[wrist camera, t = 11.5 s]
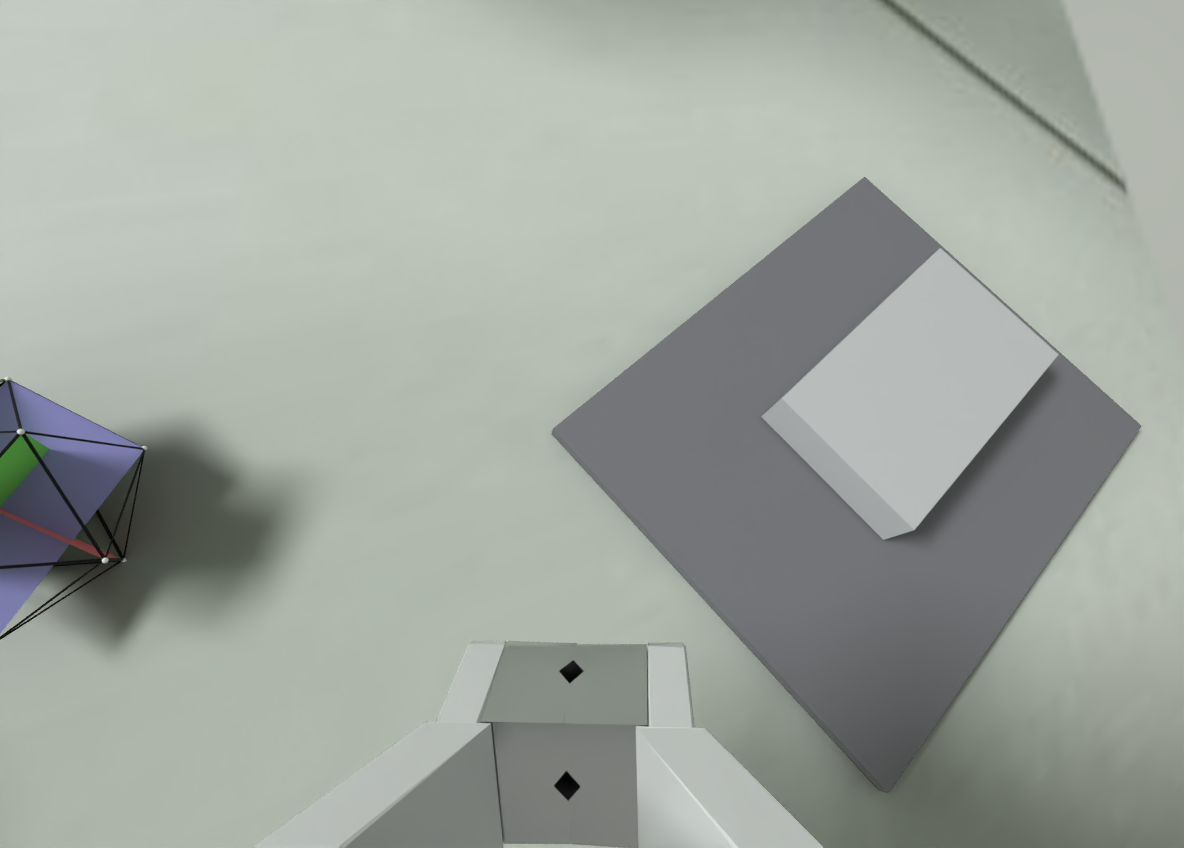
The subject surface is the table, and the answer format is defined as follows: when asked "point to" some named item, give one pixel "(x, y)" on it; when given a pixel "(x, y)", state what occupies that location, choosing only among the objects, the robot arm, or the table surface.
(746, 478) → the mat
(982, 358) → the tile
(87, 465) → the geometric puzzle
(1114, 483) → the table surface
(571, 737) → the robot arm
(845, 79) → the table surface
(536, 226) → the table surface
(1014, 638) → the table surface
